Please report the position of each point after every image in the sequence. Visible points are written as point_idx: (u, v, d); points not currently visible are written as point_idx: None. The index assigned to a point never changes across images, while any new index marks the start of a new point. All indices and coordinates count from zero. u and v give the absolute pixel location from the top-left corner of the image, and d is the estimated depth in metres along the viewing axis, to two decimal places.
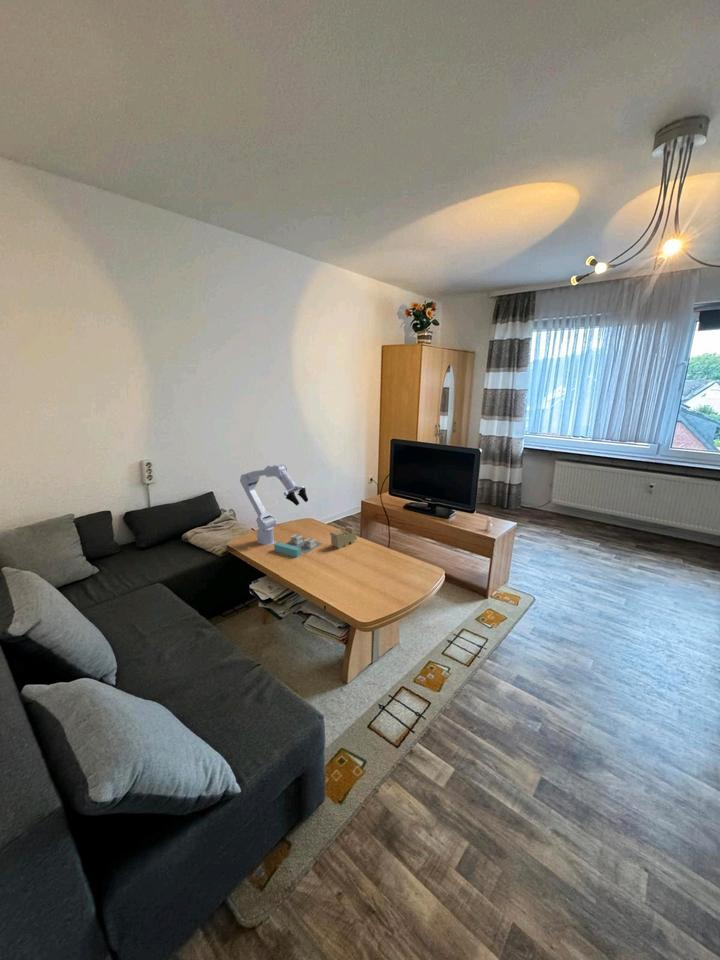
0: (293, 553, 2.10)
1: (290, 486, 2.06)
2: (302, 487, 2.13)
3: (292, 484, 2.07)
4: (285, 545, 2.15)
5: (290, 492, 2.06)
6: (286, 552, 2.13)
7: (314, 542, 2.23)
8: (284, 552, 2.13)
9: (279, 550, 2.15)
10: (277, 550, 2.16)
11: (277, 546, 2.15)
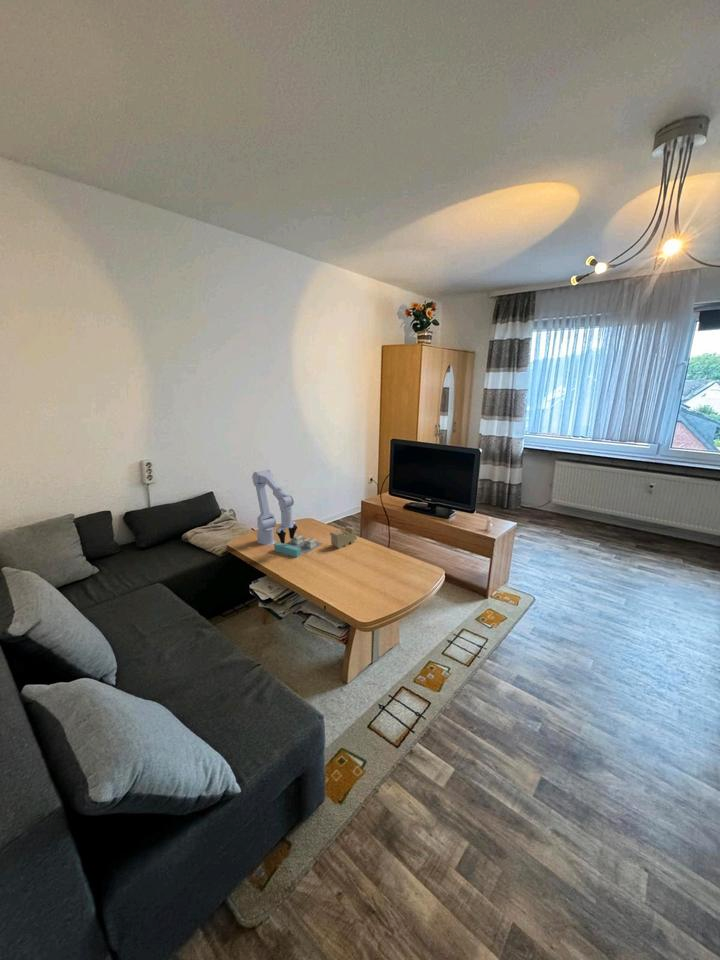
0: (293, 553, 2.10)
1: (286, 524, 2.07)
2: (295, 523, 2.16)
3: (289, 523, 2.08)
4: (285, 545, 2.15)
5: None
6: (286, 552, 2.13)
7: (314, 542, 2.23)
8: (284, 552, 2.13)
9: (279, 550, 2.15)
10: (277, 550, 2.16)
11: (277, 546, 2.15)
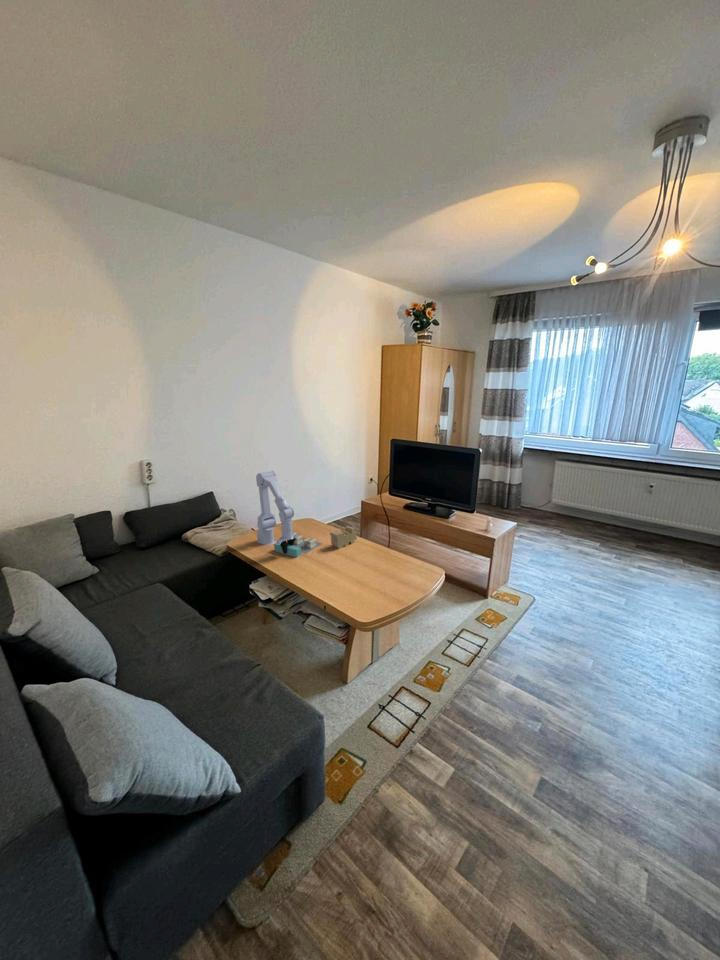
0: (293, 553, 2.10)
1: (286, 535, 2.09)
2: (295, 534, 2.17)
3: (289, 534, 2.10)
4: None
5: None
6: None
7: (314, 542, 2.23)
8: None
9: (279, 550, 2.15)
10: (277, 550, 2.16)
11: (277, 546, 2.15)
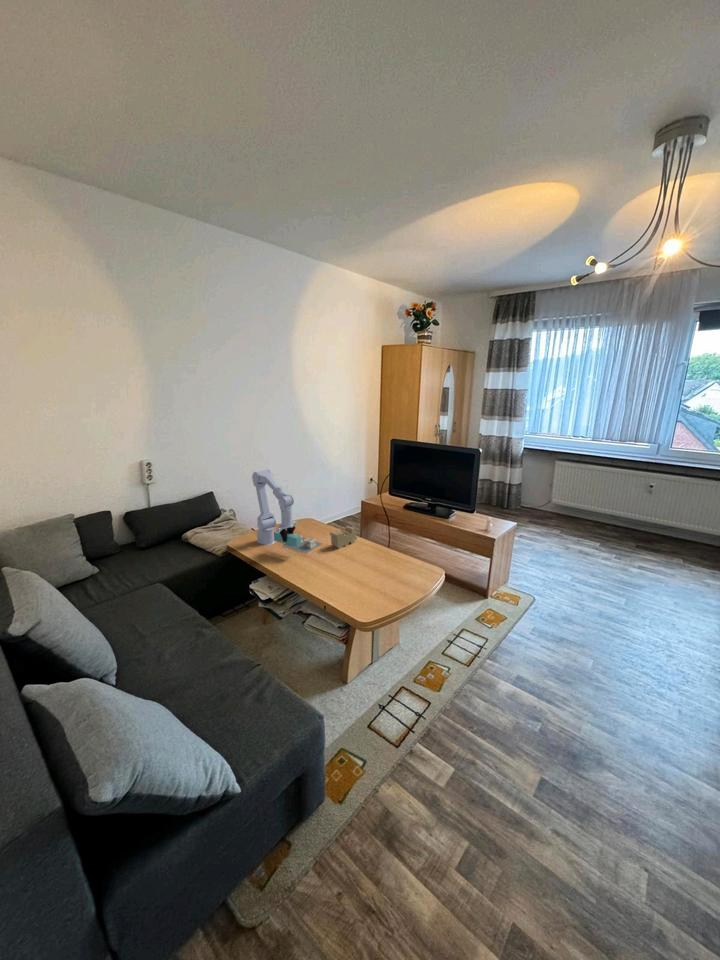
0: (293, 541, 2.08)
1: (286, 523, 2.07)
2: (295, 523, 2.16)
3: (289, 523, 2.08)
4: None
5: None
6: None
7: (314, 542, 2.23)
8: None
9: (279, 538, 2.13)
10: (277, 538, 2.14)
11: (277, 534, 2.13)
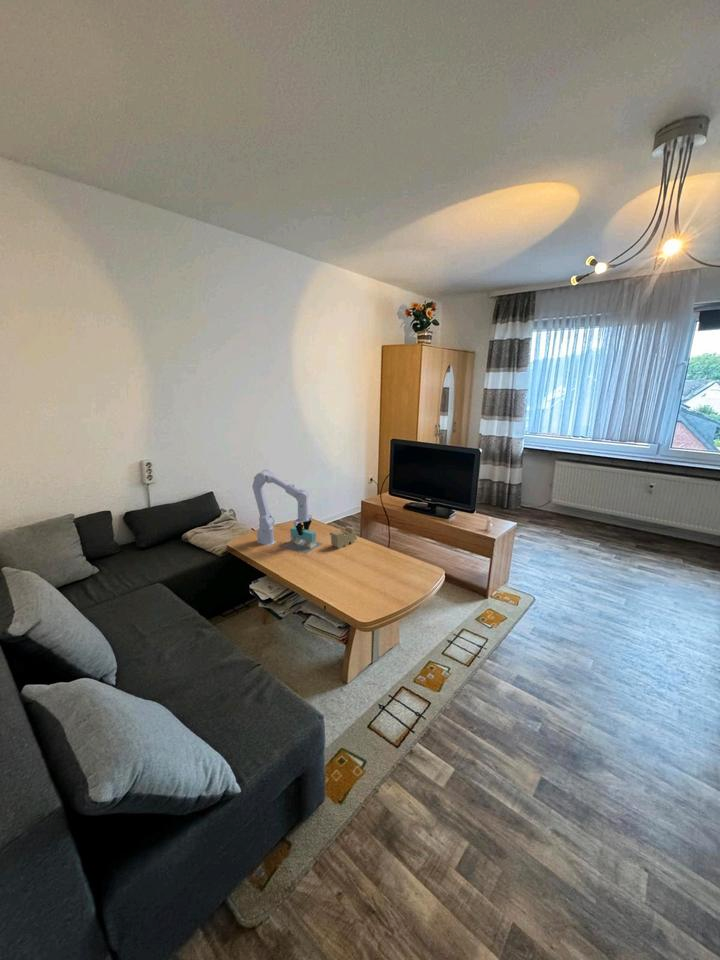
0: (308, 537, 2.20)
1: (302, 518, 2.19)
2: (310, 517, 2.27)
3: (305, 517, 2.20)
4: None
5: None
6: (302, 536, 2.23)
7: (314, 542, 2.23)
8: (300, 536, 2.24)
9: (295, 534, 2.25)
10: (293, 534, 2.26)
11: (293, 530, 2.26)
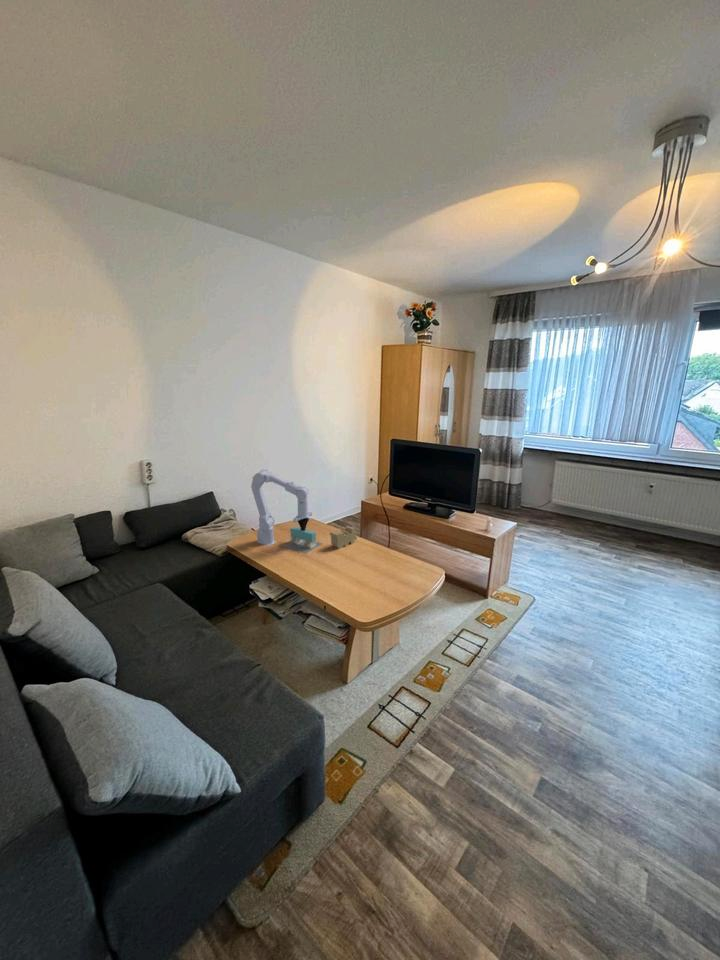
0: (308, 537, 2.20)
1: (302, 514, 2.19)
2: (310, 514, 2.27)
3: (305, 513, 2.19)
4: None
5: None
6: (302, 536, 2.23)
7: (314, 542, 2.23)
8: (300, 536, 2.24)
9: (295, 534, 2.25)
10: (293, 534, 2.26)
11: (293, 530, 2.26)
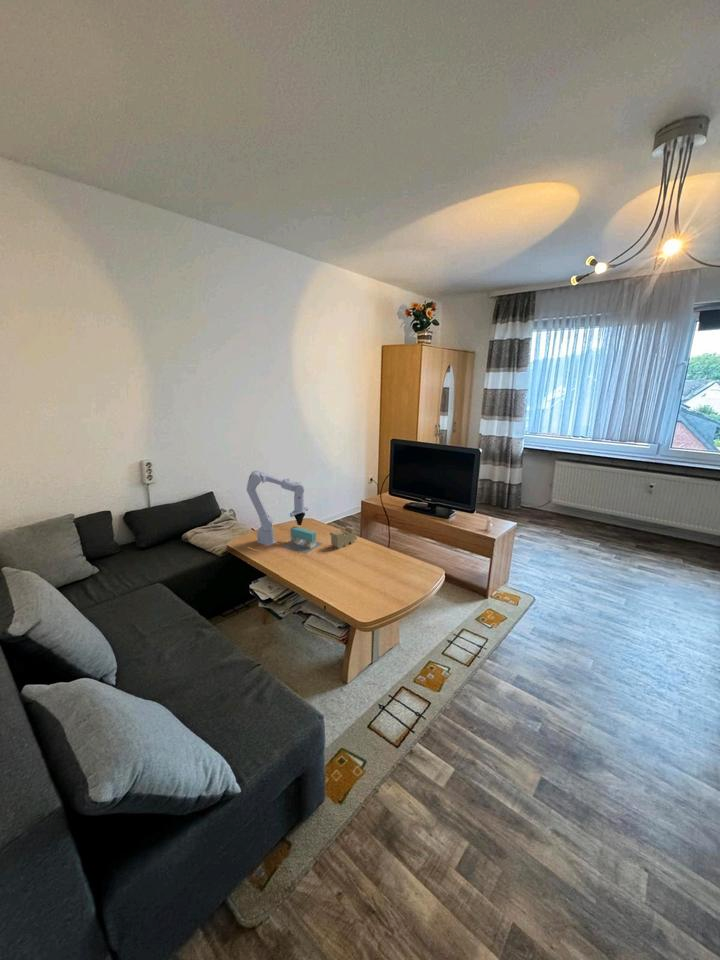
0: (308, 537, 2.20)
1: (298, 509, 2.25)
2: (307, 509, 2.33)
3: (301, 508, 2.25)
4: (301, 529, 2.25)
5: None
6: (302, 536, 2.23)
7: (314, 542, 2.23)
8: (300, 536, 2.24)
9: (295, 534, 2.25)
10: (293, 534, 2.26)
11: (293, 530, 2.26)
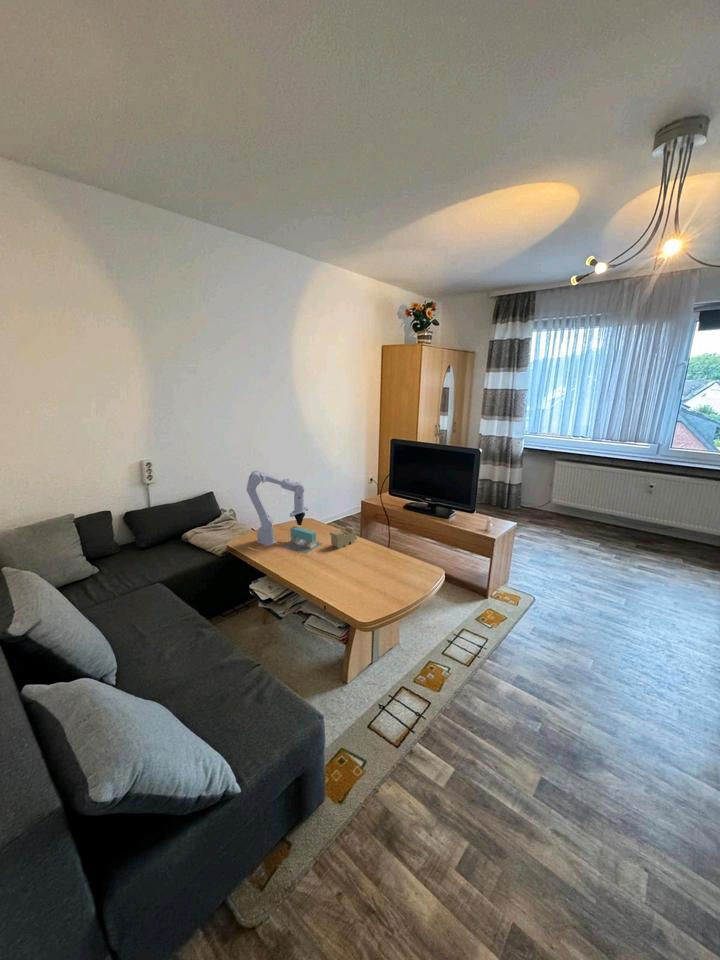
0: (308, 537, 2.20)
1: (298, 509, 2.25)
2: (307, 509, 2.33)
3: (301, 508, 2.25)
4: (301, 529, 2.25)
5: None
6: (302, 536, 2.23)
7: (314, 542, 2.23)
8: (300, 536, 2.24)
9: (295, 534, 2.25)
10: (293, 534, 2.26)
11: (293, 530, 2.26)
